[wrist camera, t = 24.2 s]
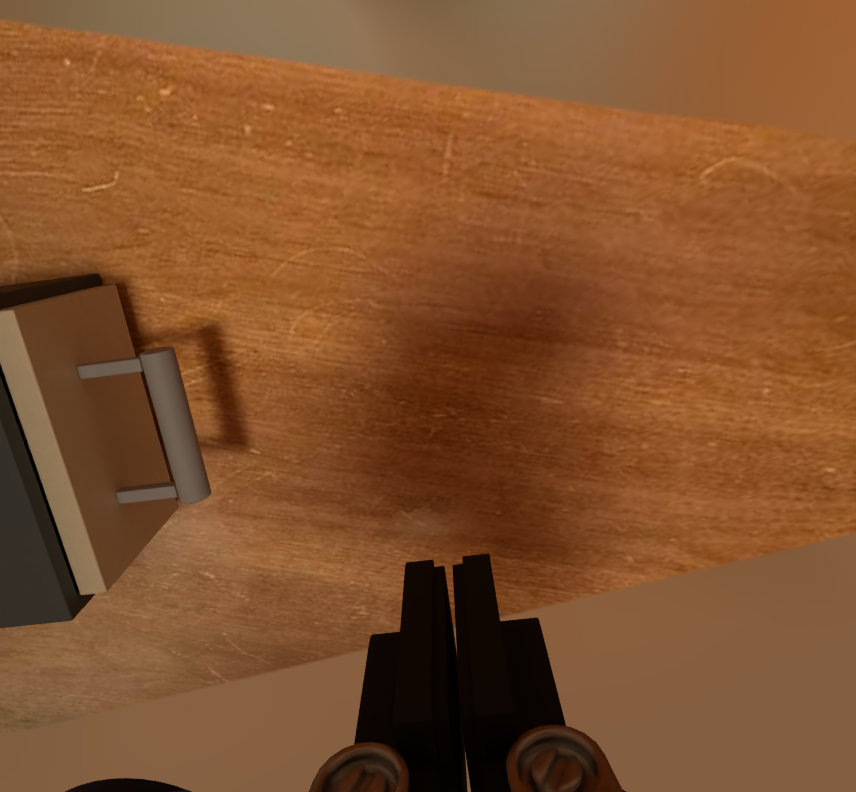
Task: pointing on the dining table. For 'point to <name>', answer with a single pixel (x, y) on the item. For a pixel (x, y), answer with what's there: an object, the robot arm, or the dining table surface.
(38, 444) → the drawer
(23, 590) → the cabinet
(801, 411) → the dining table surface
